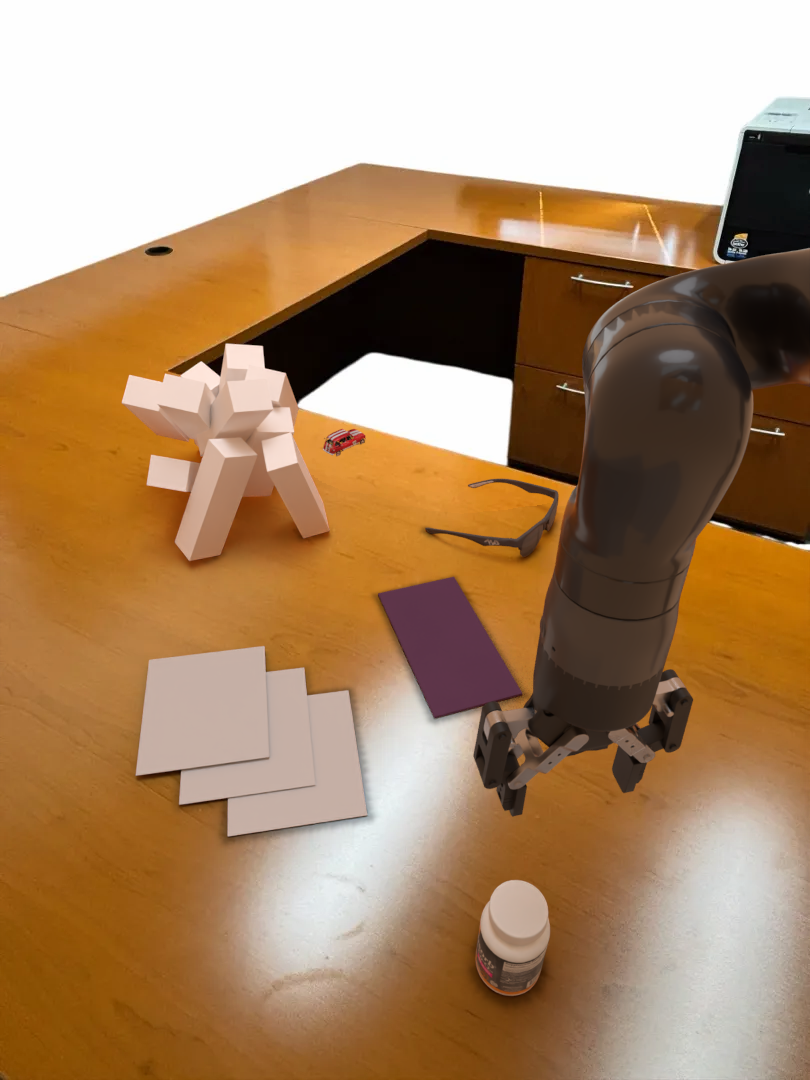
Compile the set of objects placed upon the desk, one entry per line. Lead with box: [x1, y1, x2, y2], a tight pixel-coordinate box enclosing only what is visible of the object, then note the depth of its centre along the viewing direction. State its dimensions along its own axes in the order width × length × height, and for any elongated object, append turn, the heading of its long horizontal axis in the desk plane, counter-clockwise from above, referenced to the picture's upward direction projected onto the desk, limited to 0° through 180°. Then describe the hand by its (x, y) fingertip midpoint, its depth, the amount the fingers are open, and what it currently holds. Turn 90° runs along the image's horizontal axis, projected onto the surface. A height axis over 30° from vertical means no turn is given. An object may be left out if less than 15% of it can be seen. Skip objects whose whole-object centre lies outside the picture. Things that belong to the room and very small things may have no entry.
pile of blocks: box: [121, 343, 331, 562], centre depth 112 cm, size 35×30×35 cm
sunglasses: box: [424, 478, 560, 558], centre depth 116 cm, size 16×17×5 cm
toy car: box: [322, 428, 367, 457], centre depth 134 cm, size 4×8×3 cm, turn 133°
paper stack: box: [135, 645, 368, 837], centre depth 86 cm, size 23×25×1 cm
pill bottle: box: [475, 879, 551, 997], centre depth 64 cm, size 6×6×10 cm
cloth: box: [377, 576, 523, 719], centre depth 98 cm, size 22×11×1 cm, turn 19°
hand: (567, 793), depth 56 cm, fingers open, 8 cm apart
